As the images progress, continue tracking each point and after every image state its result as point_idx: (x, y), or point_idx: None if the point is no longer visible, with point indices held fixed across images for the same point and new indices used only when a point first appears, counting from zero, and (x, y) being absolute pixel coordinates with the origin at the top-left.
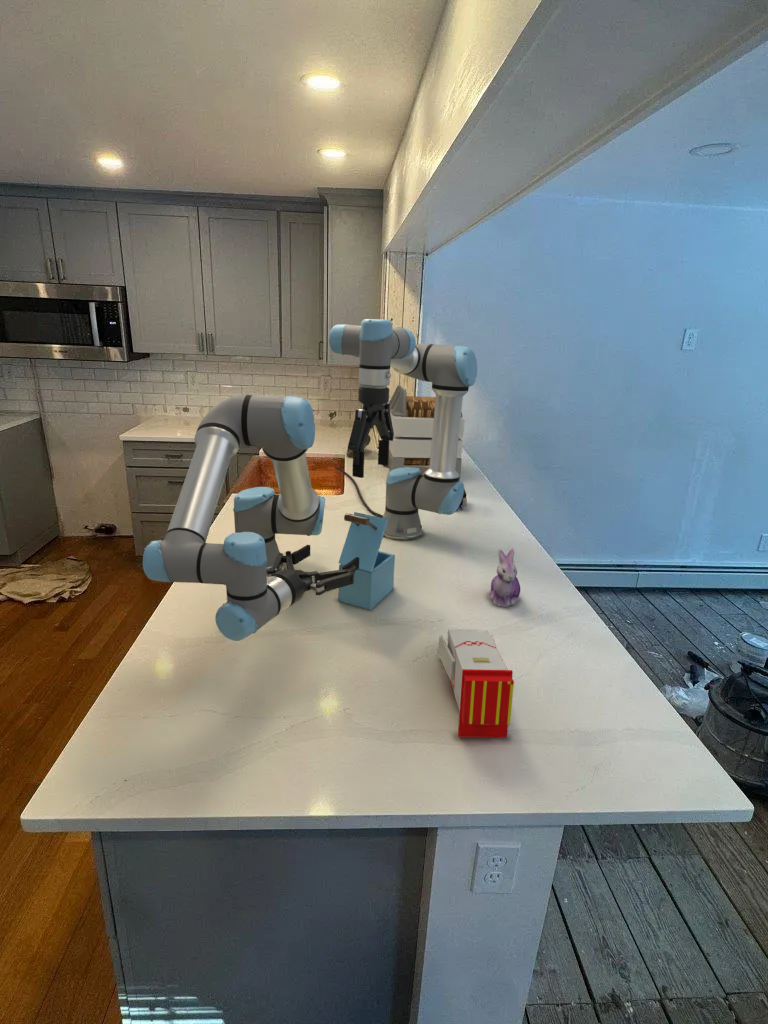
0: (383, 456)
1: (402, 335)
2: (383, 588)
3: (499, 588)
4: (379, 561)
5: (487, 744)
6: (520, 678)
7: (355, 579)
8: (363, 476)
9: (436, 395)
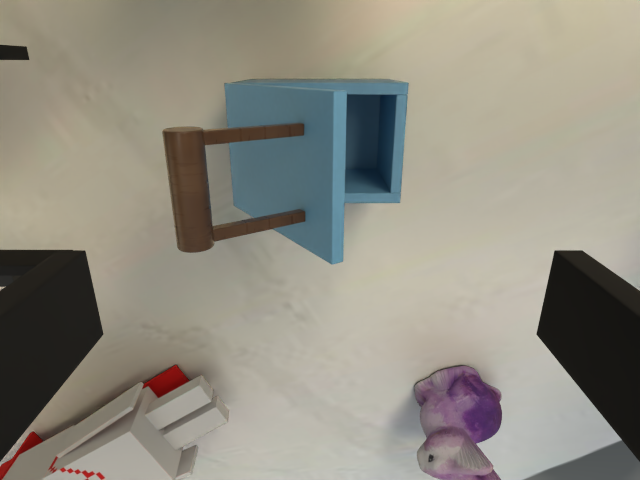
0: (591, 351)
1: None
2: None
3: (422, 417)
4: (388, 147)
5: None
6: (208, 461)
7: None
8: (98, 338)
9: None
